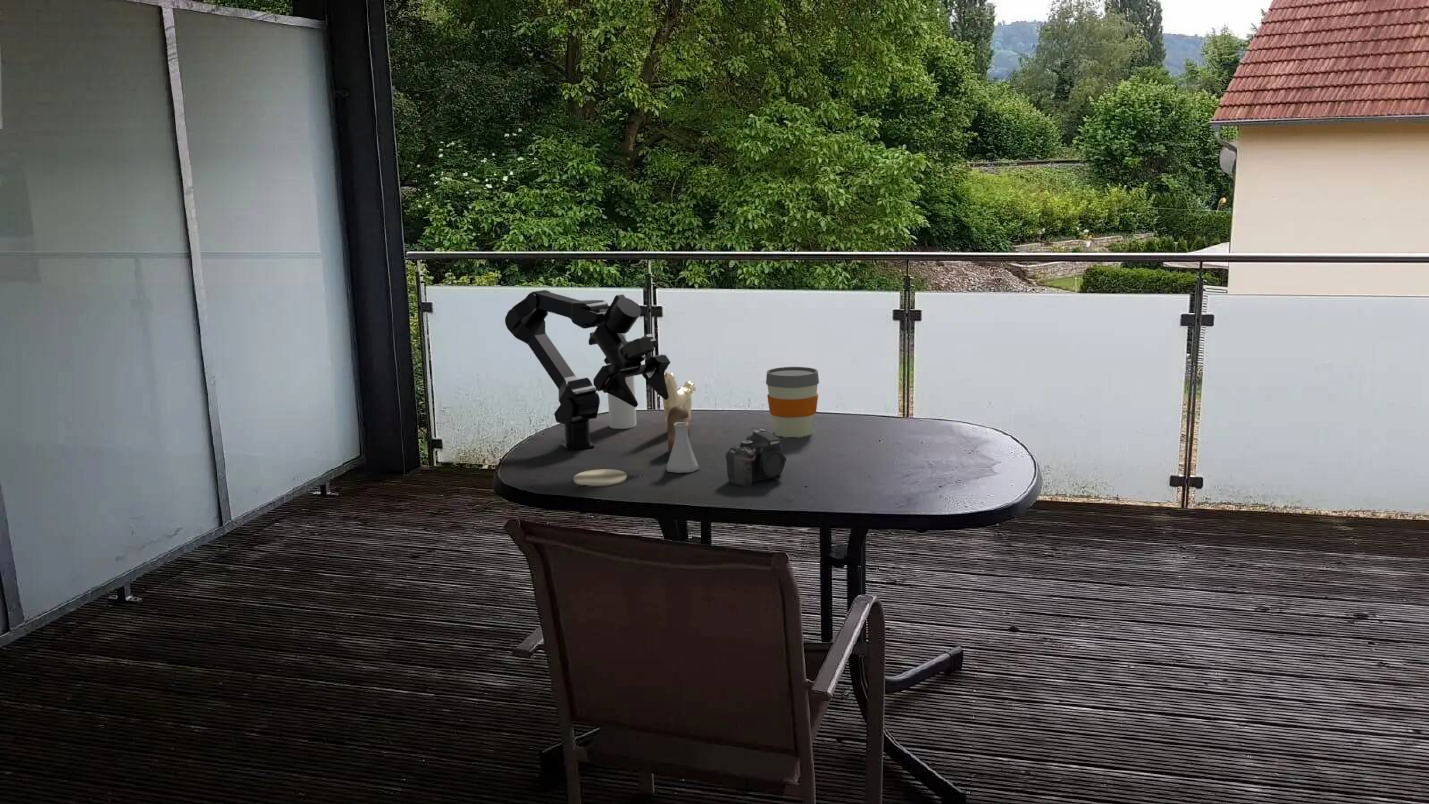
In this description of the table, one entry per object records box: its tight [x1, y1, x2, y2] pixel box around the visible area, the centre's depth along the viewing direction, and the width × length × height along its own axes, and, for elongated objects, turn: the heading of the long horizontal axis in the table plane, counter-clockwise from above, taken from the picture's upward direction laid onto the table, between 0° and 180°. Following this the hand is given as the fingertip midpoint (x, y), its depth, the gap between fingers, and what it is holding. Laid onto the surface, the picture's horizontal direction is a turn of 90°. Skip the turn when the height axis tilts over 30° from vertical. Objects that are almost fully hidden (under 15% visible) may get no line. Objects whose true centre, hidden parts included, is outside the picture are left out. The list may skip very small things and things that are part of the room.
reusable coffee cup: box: [765, 366, 820, 438], centre depth 271 cm, size 13×12×15 cm
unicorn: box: [662, 371, 697, 427], centre depth 277 cm, size 20×4×17 cm, turn 156°
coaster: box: [573, 468, 628, 487], centre depth 237 cm, size 11×11×1 cm
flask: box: [665, 422, 700, 474], centre depth 242 cm, size 7×7×10 cm
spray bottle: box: [606, 333, 637, 430], centre depth 283 cm, size 7×7×25 cm
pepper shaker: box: [666, 406, 691, 454], centre depth 257 cm, size 5×5×10 cm
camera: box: [725, 428, 787, 487], centre depth 233 cm, size 13×10×10 cm
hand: (652, 402), depth 246 cm, fingers open, 9 cm apart
